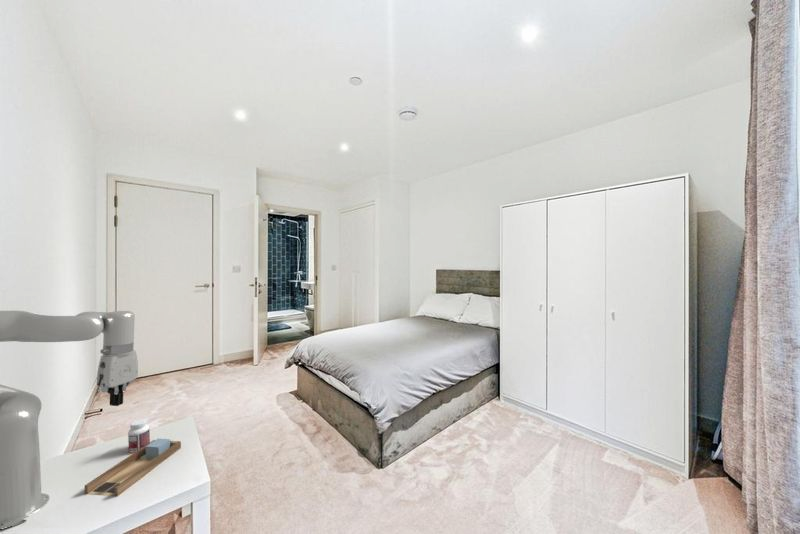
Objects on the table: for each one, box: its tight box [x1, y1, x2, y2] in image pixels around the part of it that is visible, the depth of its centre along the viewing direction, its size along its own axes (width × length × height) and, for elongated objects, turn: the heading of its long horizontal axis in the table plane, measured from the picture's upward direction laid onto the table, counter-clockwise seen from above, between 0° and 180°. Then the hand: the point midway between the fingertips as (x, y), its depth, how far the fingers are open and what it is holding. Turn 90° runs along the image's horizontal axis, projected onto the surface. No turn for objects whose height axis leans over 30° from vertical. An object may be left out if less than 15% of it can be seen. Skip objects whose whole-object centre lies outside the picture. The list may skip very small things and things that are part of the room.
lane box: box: [84, 439, 182, 497], centre depth 107 cm, size 11×24×4 cm, turn 174°
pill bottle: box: [127, 418, 151, 454], centre depth 118 cm, size 6×6×11 cm
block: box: [146, 438, 171, 458], centre depth 115 cm, size 5×5×4 cm
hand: (116, 404), depth 103 cm, fingers closed
